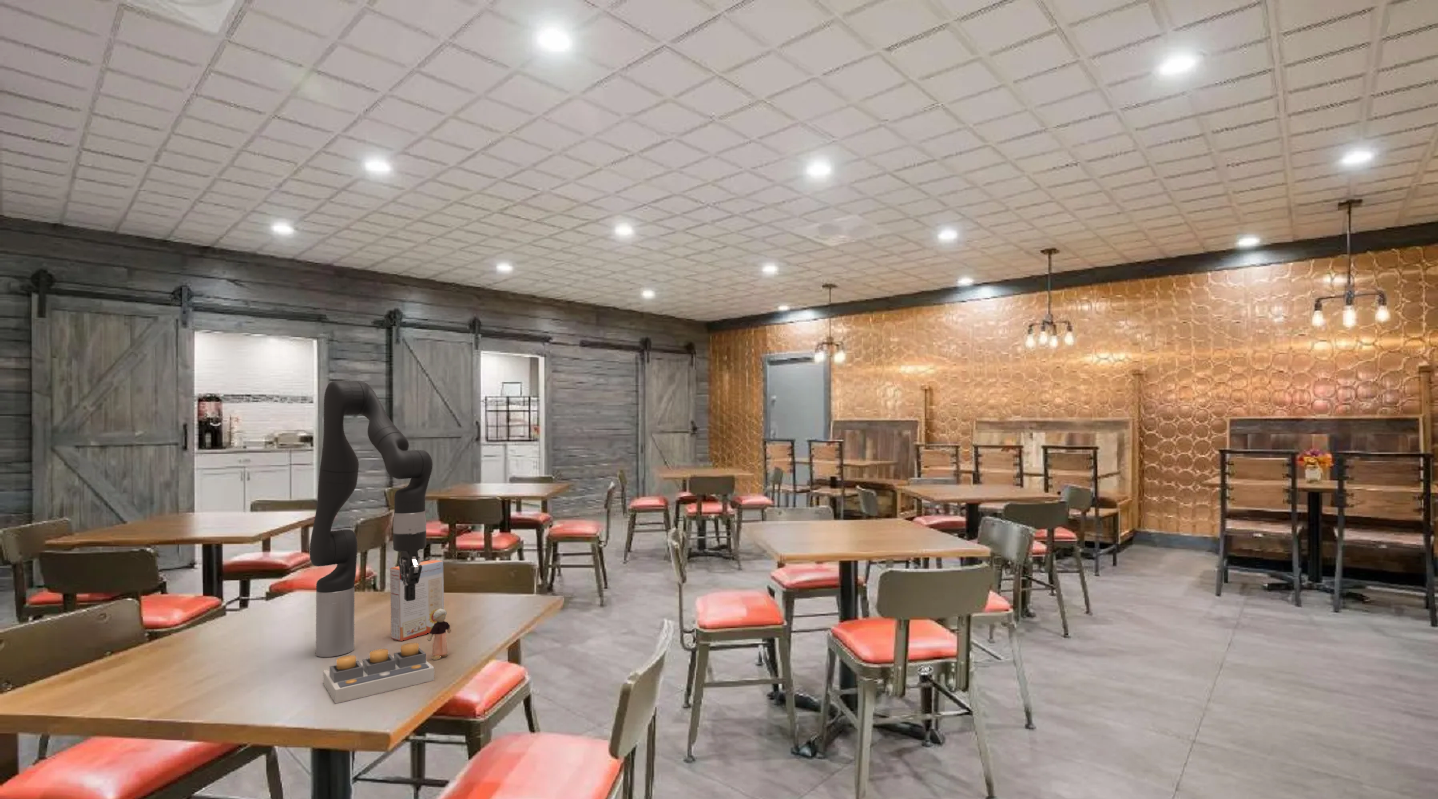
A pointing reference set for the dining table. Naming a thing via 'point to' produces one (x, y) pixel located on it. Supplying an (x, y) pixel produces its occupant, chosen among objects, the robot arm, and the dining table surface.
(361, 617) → the dining table surface
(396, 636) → the cracker box
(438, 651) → the grandmother figurine
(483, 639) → the dining table surface
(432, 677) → the button console
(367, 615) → the dining table surface
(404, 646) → the right button
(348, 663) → the left button
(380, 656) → the middle button
